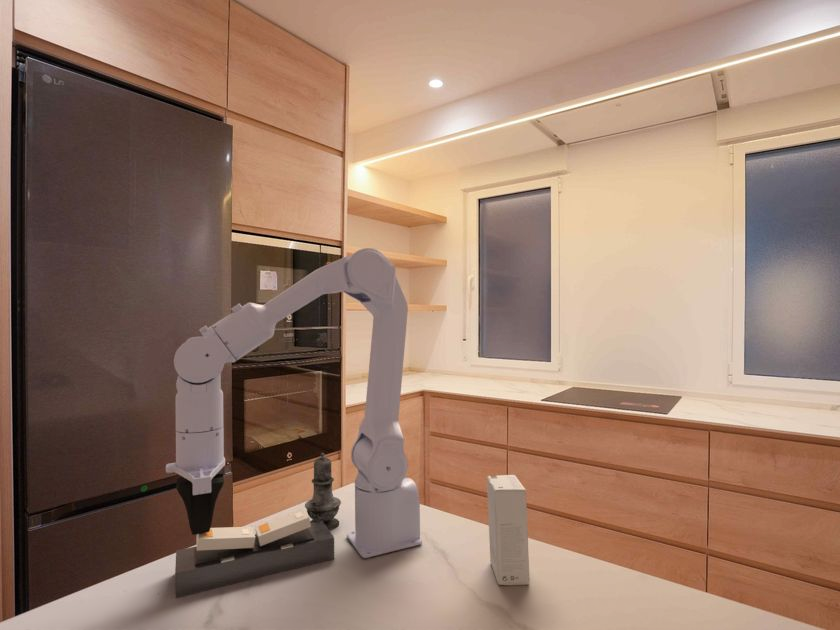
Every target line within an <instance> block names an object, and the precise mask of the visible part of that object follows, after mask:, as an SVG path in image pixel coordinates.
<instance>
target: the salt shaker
mask: <svg viewBox="0 0 840 630" xmlns="http://www.w3.org/2000/svg"><path fill="white" fill-rule="evenodd" d="M334 481H335V479H334V477H332V460H331V459H330V458H329V457H326V456H325V453H324V452H321V454H320V457H317V458H316V459H315V460H314V462H313V478H312V479H311V483H312V484H313V495H312V498H311V499H309V500H307V501H306V502H305V504H304V509H306V513H307V515H308V516H309V519H310V523H313V522H317V521H323V522H324V524H325V525H326V526H327V528H328V529H329V531H330V532H331V531H333V530H335V529H337V528H338V527H339V525H340V520H338V518H336V515H337V514H338V513H339V510H340V505H341V504H342V500H341V499H340V498H338V497H335V496H334V494H333V482H334Z"/></svg>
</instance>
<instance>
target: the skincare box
mask: <svg viewBox="0 0 840 630" xmlns="http://www.w3.org/2000/svg"><path fill="white" fill-rule="evenodd" d="M486 489H487V491H486V494H487V511H488V512H487V514H488V515H487V516H488V534H489V535H488V536H489V537H488V539H489V557H490V558H489V559H490V560H489V562H490V564H491V567H492V569H493V573H494V576H495V579H496V582H497V584H498V585H500V586H524V585H525V586H527V585H529V584H530V560H529V558H530V557H529V536H528V535H529V531H528V530H529V529H528V507H527V506H528V505H527V489H526V488H525V486H524V485H523V484H522V482H521V481H520V480H519V478H518V477H517V476H516V474H505V475H501V474H500V475H488V476H486Z"/></svg>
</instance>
